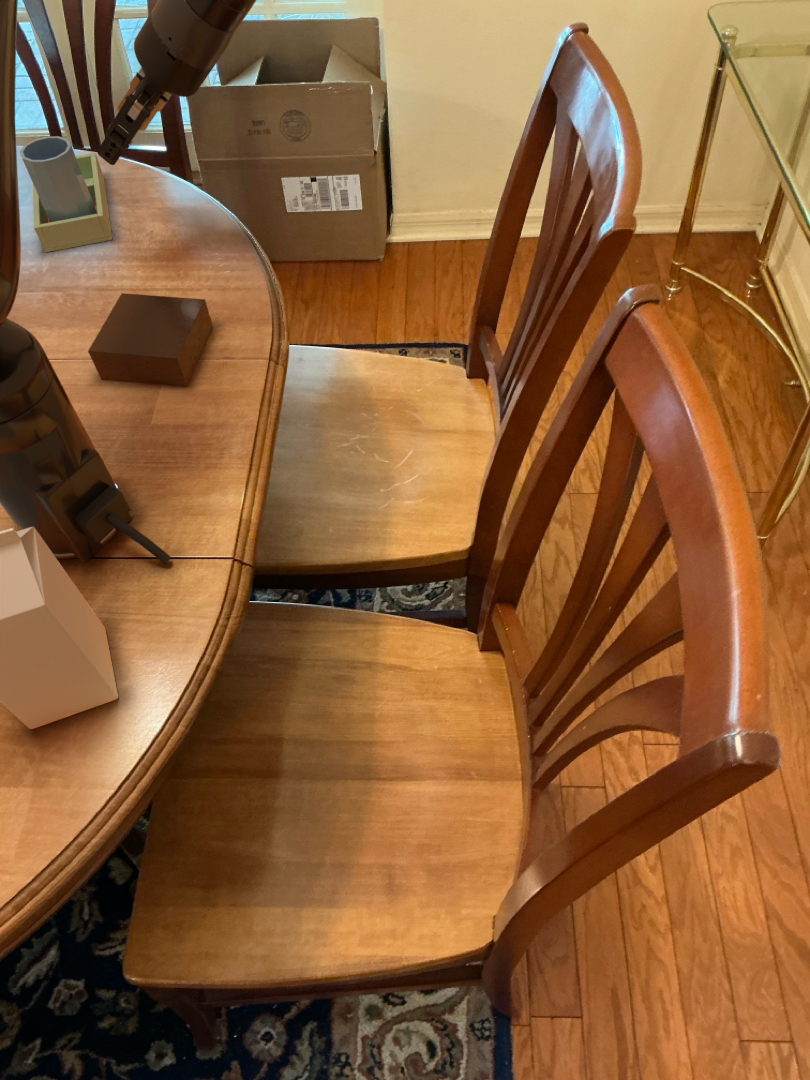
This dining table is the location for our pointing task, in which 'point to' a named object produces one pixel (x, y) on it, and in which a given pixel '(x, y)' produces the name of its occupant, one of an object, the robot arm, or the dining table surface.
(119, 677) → the dining table surface
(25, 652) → the milk carton
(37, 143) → the cup
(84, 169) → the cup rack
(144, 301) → the brown square block
